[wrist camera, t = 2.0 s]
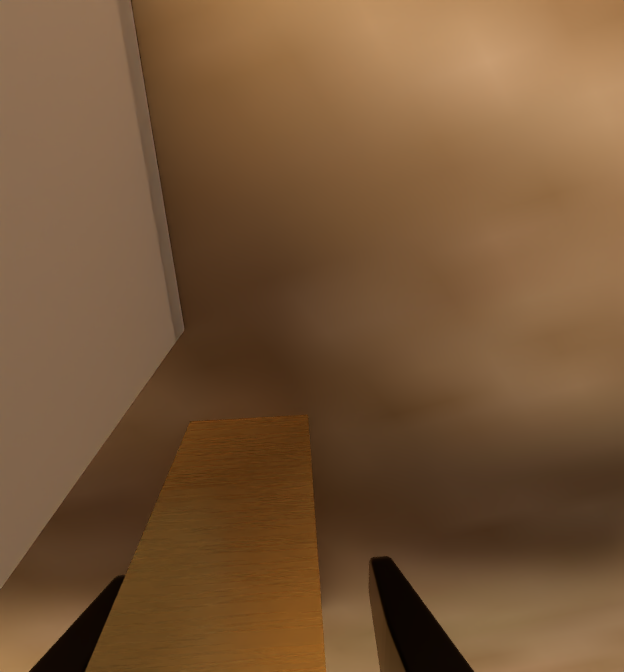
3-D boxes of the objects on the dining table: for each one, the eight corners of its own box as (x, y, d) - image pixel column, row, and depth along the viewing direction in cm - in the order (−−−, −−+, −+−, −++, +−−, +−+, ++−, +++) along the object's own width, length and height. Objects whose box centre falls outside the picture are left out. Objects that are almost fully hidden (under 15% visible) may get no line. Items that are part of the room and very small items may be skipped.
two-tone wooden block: (308, 413, 8) (328, 723, 4) (316, 608, 10) (336, 956, 6) (190, 420, 8) (54, 744, 3) (225, 615, 10) (169, 973, 6)
